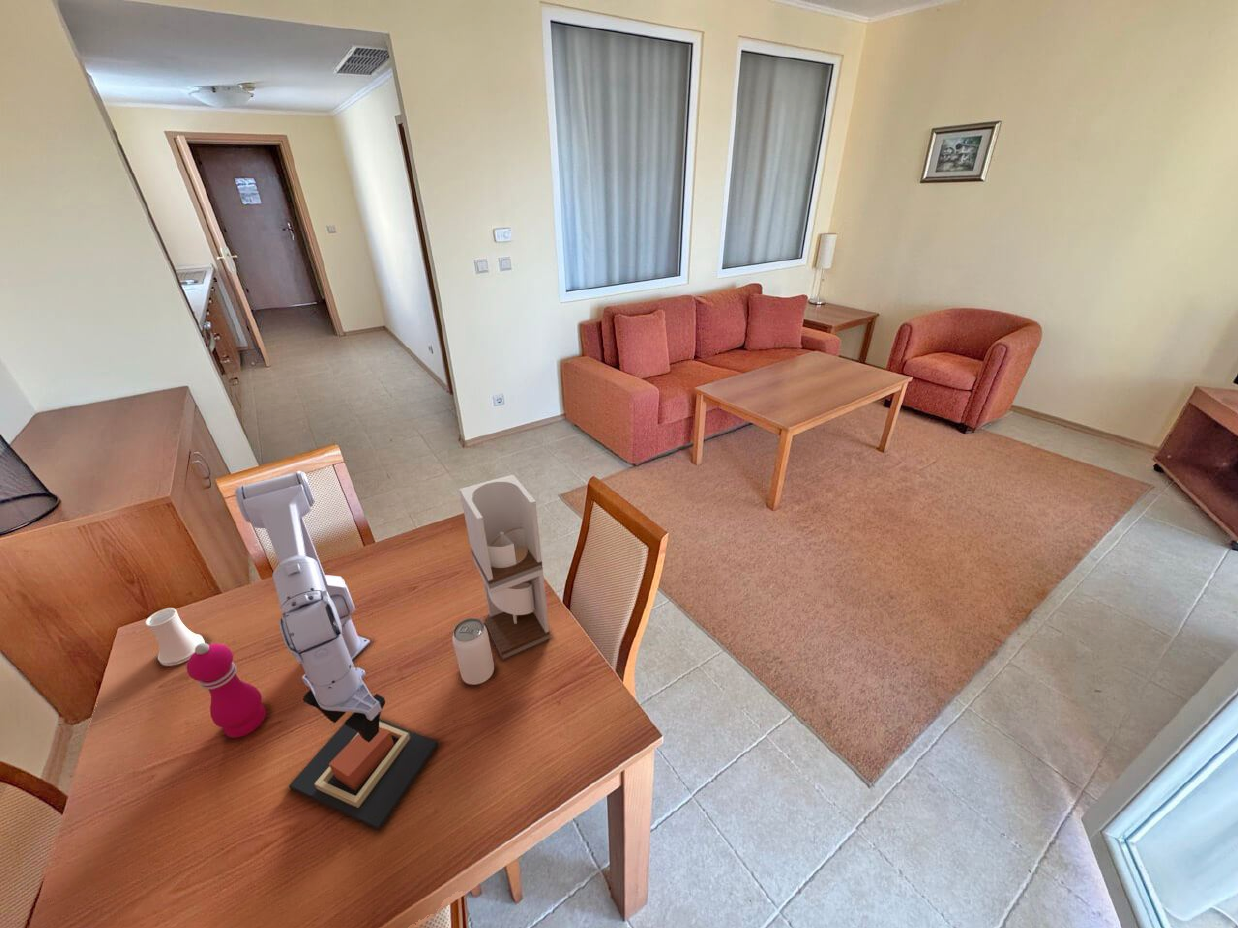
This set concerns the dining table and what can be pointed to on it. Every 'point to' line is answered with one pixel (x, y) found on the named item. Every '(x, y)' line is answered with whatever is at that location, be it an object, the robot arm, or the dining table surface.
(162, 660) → the vase
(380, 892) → the dining table surface
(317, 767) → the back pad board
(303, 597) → the robot arm
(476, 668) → the can
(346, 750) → the reddish brown block
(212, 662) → the pepper mill
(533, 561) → the white tower stand
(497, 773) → the dining table surface
